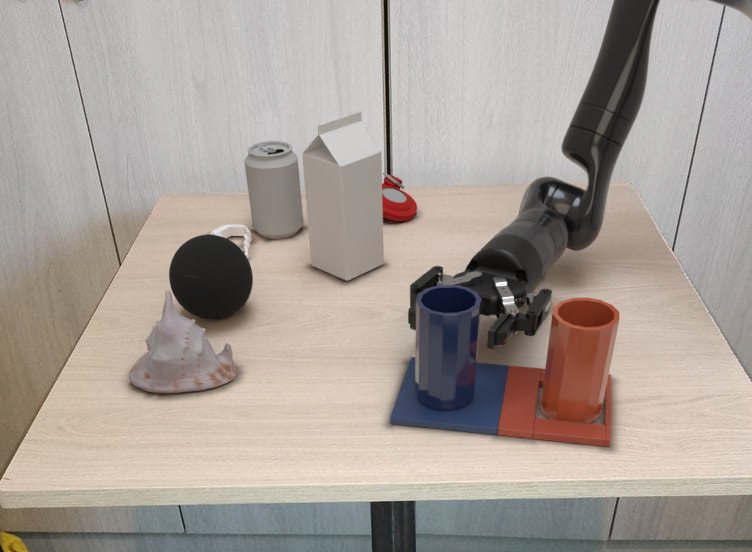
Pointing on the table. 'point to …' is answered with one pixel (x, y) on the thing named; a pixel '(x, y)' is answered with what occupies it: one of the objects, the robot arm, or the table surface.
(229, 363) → the seashell
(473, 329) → the blue cup
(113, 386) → the table surface
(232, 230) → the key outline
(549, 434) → the sorting board
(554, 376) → the red cup
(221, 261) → the speaker
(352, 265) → the milk carton
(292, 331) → the table surface
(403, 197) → the tracker holder
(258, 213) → the can
